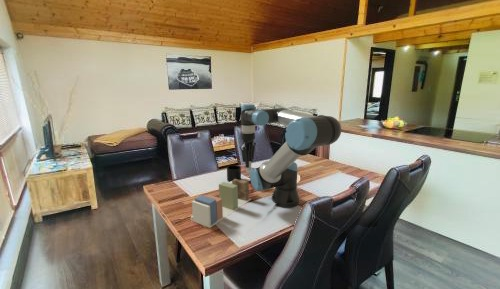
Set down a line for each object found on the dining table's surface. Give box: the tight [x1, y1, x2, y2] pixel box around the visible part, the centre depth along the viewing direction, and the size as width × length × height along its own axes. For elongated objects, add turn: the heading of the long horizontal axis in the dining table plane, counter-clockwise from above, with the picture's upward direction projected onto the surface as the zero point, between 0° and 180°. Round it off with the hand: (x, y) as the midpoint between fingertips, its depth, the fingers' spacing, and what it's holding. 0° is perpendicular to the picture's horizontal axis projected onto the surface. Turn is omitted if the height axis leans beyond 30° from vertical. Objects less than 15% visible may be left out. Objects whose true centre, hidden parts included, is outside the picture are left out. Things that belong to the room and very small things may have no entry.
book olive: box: [218, 181, 238, 210], centre depth 131 cm, size 9×4×12 cm, turn 57°
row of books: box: [190, 198, 252, 229], centre depth 129 cm, size 12×34×11 cm, turn 147°
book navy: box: [194, 194, 217, 225], centre depth 118 cm, size 9×4×11 cm, turn 57°
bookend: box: [231, 179, 250, 201], centre depth 141 cm, size 9×3×10 cm, turn 57°
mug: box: [226, 164, 242, 183], centre depth 170 cm, size 9×12×9 cm
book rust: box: [205, 194, 223, 220], centre depth 122 cm, size 8×4×10 cm, turn 57°
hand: (248, 172), depth 146 cm, fingers closed
